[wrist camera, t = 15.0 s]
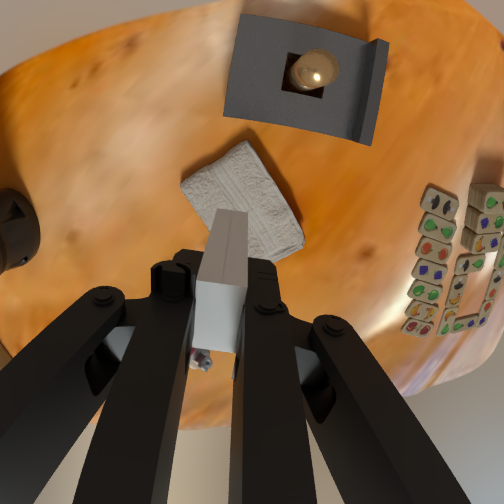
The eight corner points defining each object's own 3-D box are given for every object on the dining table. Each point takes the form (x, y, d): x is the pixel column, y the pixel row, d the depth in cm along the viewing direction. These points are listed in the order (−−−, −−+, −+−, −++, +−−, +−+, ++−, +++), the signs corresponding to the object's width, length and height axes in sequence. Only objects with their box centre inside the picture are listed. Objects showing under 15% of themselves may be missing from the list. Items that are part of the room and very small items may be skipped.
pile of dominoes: (419, 181, 43) (437, 191, 38) (519, 184, 42) (536, 192, 37) (393, 344, 58) (401, 362, 53) (483, 322, 57) (494, 336, 52)
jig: (225, 115, 38) (220, 116, 32) (241, 22, 32) (240, 6, 26) (352, 140, 40) (370, 146, 33) (369, 50, 33) (389, 42, 27)
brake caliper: (177, 296, 48) (202, 364, 42) (218, 305, 57) (243, 362, 51) (137, 327, 51) (156, 390, 45) (179, 333, 60) (198, 386, 54)
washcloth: (244, 274, 50) (244, 284, 47) (177, 182, 43) (172, 187, 40) (309, 238, 47) (313, 246, 44) (247, 136, 40) (247, 139, 37)
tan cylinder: (283, 89, 37) (296, 80, 26) (287, 62, 35) (302, 44, 24) (312, 94, 37) (335, 90, 26) (316, 68, 35) (342, 54, 24)
